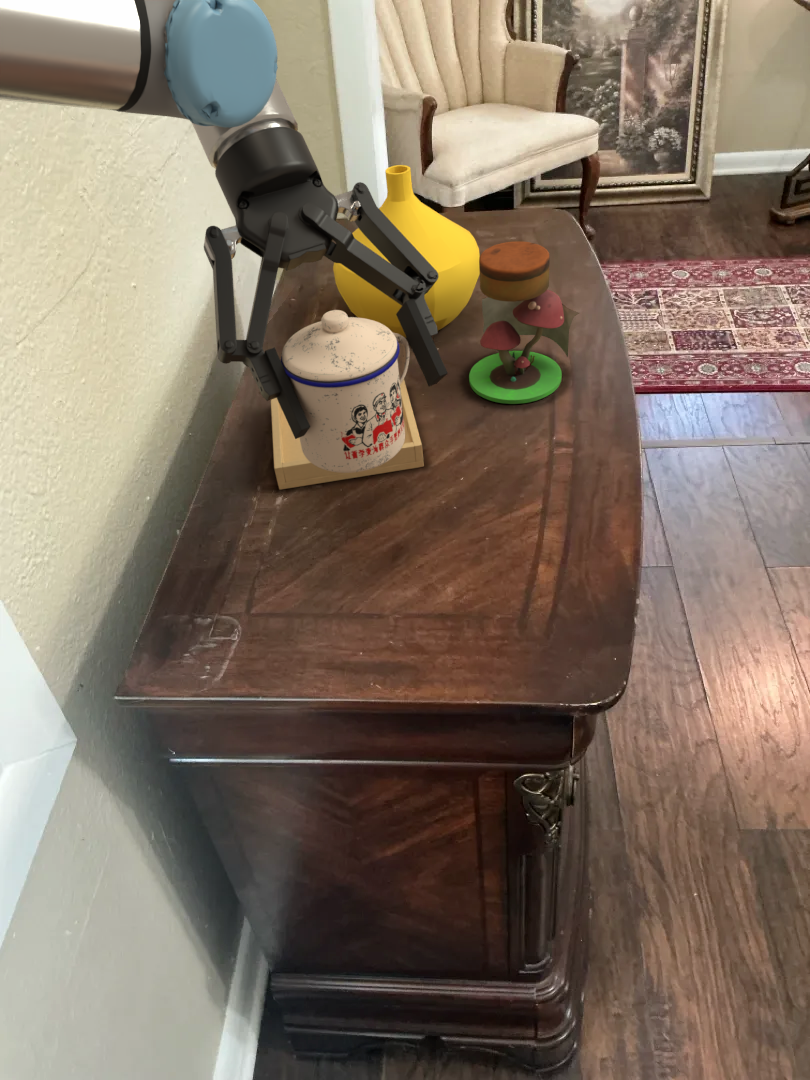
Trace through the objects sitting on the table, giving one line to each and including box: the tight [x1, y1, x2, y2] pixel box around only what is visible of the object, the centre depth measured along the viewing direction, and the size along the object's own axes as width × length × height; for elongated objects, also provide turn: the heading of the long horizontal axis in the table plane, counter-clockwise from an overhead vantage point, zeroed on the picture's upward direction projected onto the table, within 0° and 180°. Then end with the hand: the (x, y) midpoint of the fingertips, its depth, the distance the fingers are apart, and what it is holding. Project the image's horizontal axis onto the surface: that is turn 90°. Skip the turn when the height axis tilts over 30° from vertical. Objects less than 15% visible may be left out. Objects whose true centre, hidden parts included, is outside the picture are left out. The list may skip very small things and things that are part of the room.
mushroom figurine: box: [468, 240, 580, 405], centre depth 95 cm, size 12×13×15 cm
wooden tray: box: [270, 379, 425, 491], centre depth 94 cm, size 15×15×3 cm
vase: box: [332, 164, 481, 339], centre depth 106 cm, size 18×18×19 cm
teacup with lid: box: [280, 309, 411, 473], centre depth 68 cm, size 12×9×12 cm
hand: (372, 406), depth 67 cm, fingers closed on teacup with lid, 11 cm apart
